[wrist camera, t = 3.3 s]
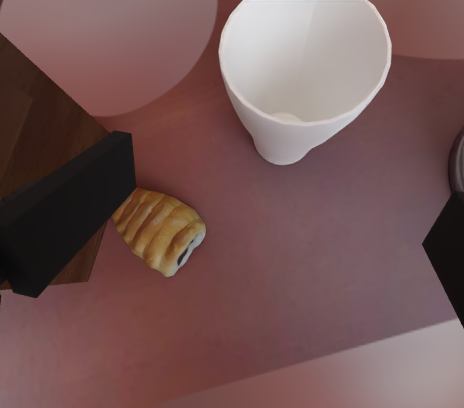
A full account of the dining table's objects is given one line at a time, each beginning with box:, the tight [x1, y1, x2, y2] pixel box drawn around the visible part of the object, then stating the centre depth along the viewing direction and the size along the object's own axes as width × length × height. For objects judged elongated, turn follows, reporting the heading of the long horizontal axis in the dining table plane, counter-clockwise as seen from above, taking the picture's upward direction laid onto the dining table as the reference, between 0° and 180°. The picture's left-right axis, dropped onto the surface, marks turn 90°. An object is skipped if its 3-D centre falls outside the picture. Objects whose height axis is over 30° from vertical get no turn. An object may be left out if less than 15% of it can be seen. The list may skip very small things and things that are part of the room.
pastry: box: [111, 188, 206, 277], centre depth 29 cm, size 9×7×4 cm
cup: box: [218, 0, 391, 165], centre depth 25 cm, size 10×10×14 cm
